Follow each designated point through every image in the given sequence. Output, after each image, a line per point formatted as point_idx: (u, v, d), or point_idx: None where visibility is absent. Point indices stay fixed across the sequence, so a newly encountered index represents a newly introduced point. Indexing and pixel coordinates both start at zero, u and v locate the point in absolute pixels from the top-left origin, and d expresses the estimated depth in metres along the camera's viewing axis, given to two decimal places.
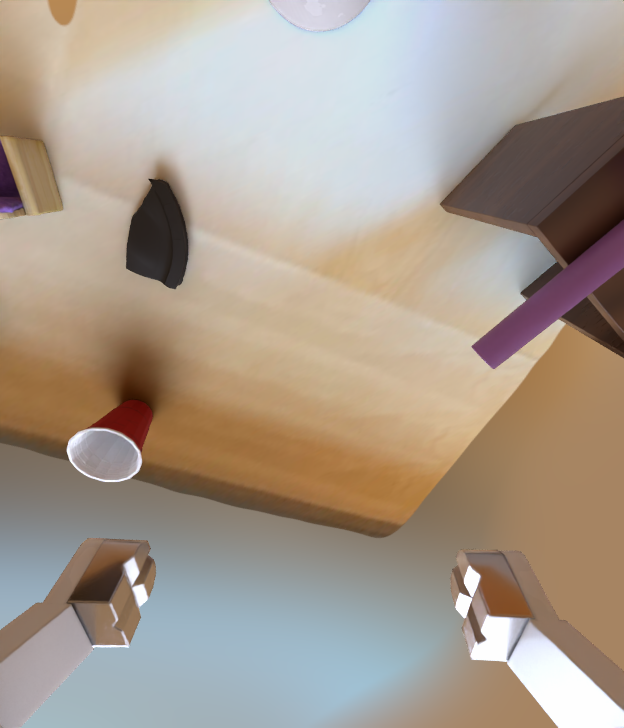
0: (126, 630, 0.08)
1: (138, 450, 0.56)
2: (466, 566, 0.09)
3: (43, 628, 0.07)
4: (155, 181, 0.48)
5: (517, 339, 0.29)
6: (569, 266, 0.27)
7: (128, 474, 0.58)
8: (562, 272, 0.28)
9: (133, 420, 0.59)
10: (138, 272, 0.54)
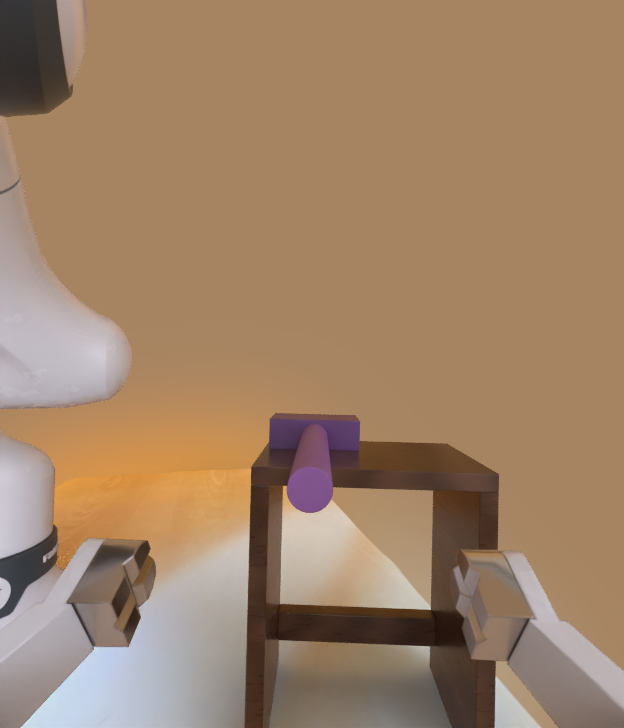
0: (126, 630, 0.08)
1: None
2: (466, 566, 0.09)
3: (43, 628, 0.07)
4: None
5: (309, 455, 0.23)
6: None
7: None
8: None
9: None
10: None
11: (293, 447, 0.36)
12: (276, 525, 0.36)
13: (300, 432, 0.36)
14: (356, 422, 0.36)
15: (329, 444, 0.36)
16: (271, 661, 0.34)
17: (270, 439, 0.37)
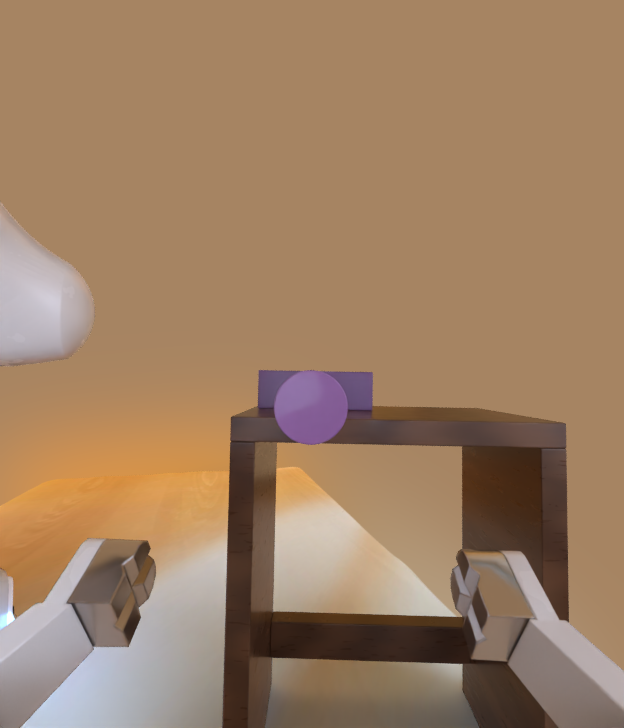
0: (126, 630, 0.08)
1: None
2: (466, 566, 0.09)
3: (43, 628, 0.07)
4: None
5: None
6: None
7: None
8: None
9: None
10: None
11: None
12: (267, 506, 0.28)
13: None
14: (368, 374, 0.29)
15: None
16: (260, 686, 0.26)
17: (259, 396, 0.29)
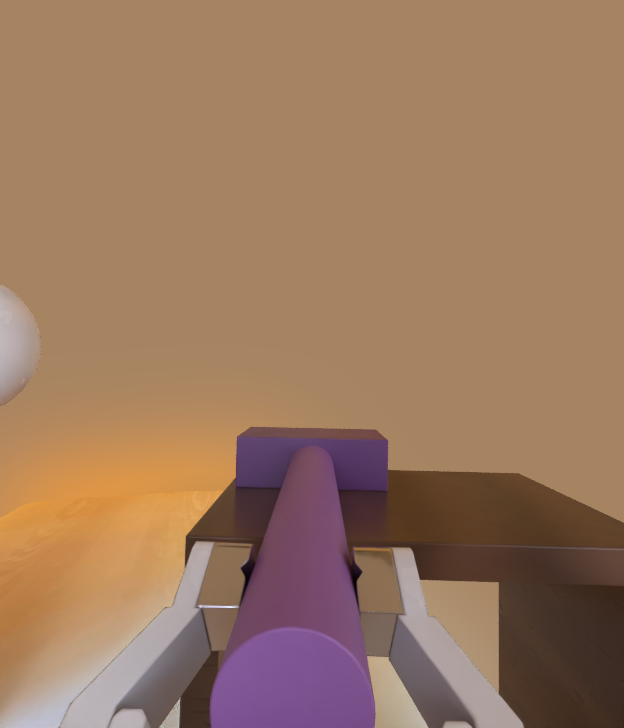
0: None
1: None
2: (353, 563, 0.09)
3: (180, 633, 0.07)
4: None
5: (295, 546, 0.09)
6: None
7: None
8: None
9: None
10: None
11: (276, 485, 0.22)
12: None
13: (288, 459, 0.22)
14: (382, 442, 0.22)
15: (337, 479, 0.22)
16: None
17: (237, 471, 0.22)
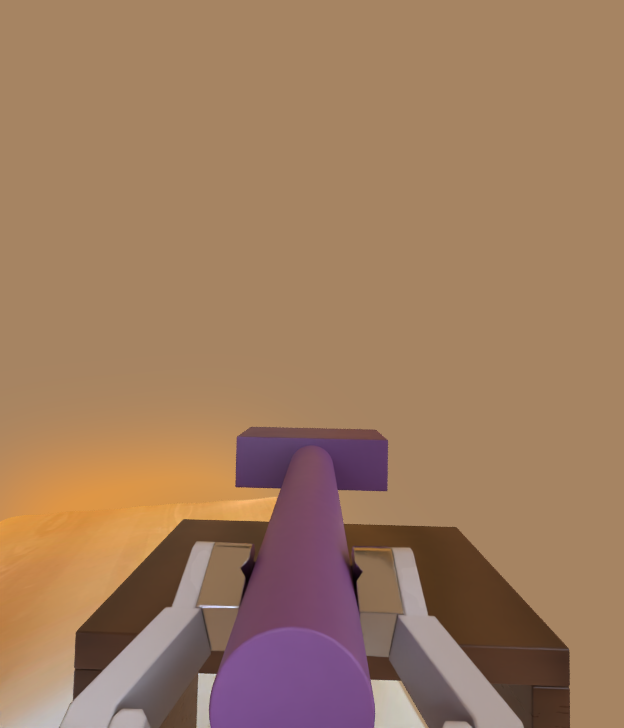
0: None
1: None
2: (354, 563, 0.09)
3: (180, 633, 0.07)
4: None
5: (295, 546, 0.09)
6: None
7: None
8: None
9: None
10: None
11: (276, 485, 0.22)
12: None
13: (288, 459, 0.22)
14: (382, 442, 0.22)
15: (337, 480, 0.22)
16: None
17: (237, 471, 0.22)
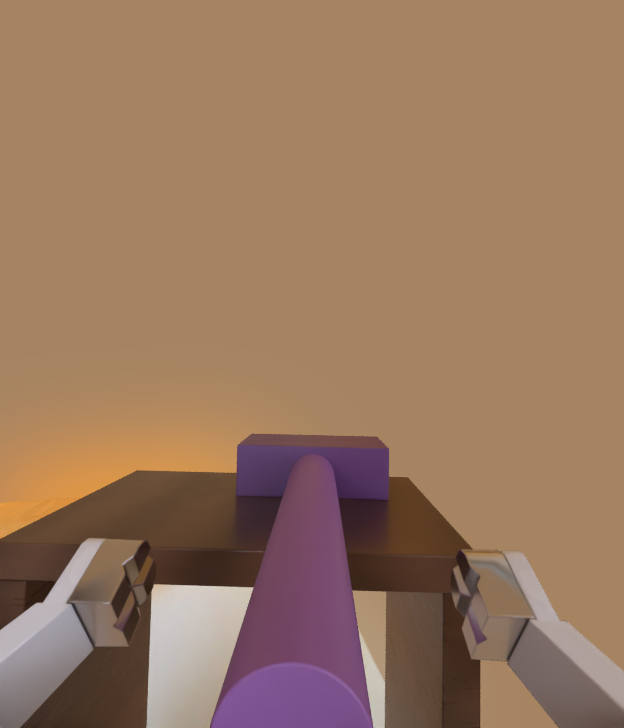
0: (126, 630, 0.08)
1: None
2: (466, 566, 0.09)
3: (43, 629, 0.07)
4: None
5: (295, 569, 0.08)
6: None
7: None
8: None
9: None
10: None
11: (277, 493, 0.22)
12: None
13: (288, 468, 0.22)
14: (383, 451, 0.22)
15: (337, 488, 0.21)
16: None
17: (238, 480, 0.22)
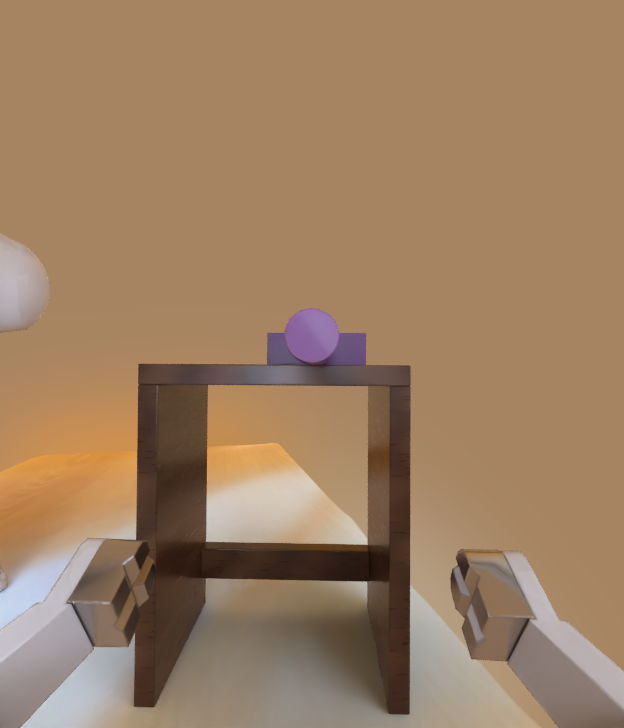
0: (126, 630, 0.08)
1: None
2: (466, 566, 0.09)
3: (43, 628, 0.07)
4: None
5: None
6: None
7: None
8: None
9: None
10: None
11: (293, 363, 0.33)
12: (188, 446, 0.33)
13: None
14: (362, 334, 0.33)
15: (333, 359, 0.33)
16: (181, 591, 0.32)
17: (268, 355, 0.34)
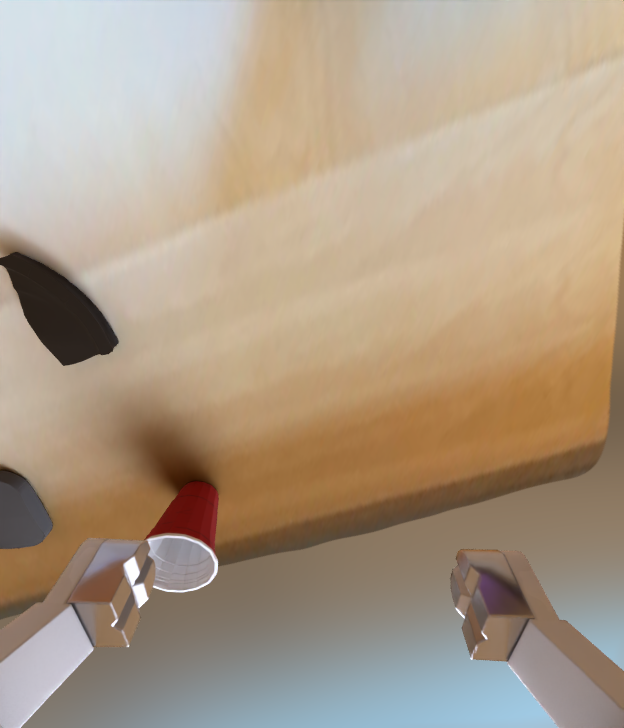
0: (126, 630, 0.08)
1: (197, 541, 0.45)
2: (466, 566, 0.09)
3: (43, 628, 0.07)
4: (1, 259, 0.39)
5: None
6: None
7: (213, 569, 0.47)
8: None
9: (184, 509, 0.49)
10: (74, 361, 0.45)
11: None
12: None
13: None
14: None
15: None
16: None
17: None
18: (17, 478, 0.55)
